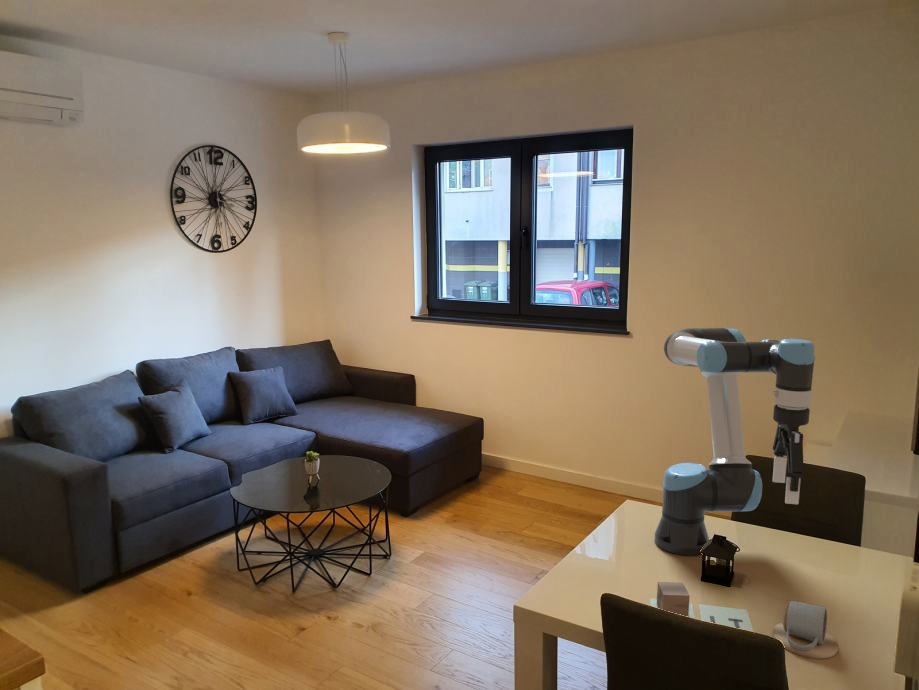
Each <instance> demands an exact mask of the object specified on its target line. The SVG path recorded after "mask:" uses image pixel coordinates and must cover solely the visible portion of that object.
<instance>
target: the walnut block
mask: <svg viewBox="0 0 919 690" xmlns="http://www.w3.org/2000/svg"><path fill="white" fill-rule="evenodd" d="M656 591H657V592H656V599H657V606H658V608H660V609H663V610H666V611H670V612H673V613H677V614H681V615H684V616H688V615H689V603H690V593H689V592H688V590H687V587H686V586H685V584H684V582H681V581H680V582H679V581H678V582H677V581H657V589H656Z"/></svg>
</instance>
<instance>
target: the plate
mask: <svg viewBox="0 0 919 690" xmlns="http://www.w3.org/2000/svg"><path fill="white" fill-rule="evenodd" d="M649 605H651V606H654V607H657V608H658V606H657V598H651V597H650V598H649ZM688 617H692V618H695V619H696V617H695V613H694V607H693V603H692V602H689V615H688Z"/></svg>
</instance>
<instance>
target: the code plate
mask: <svg viewBox="0 0 919 690" xmlns="http://www.w3.org/2000/svg"><path fill="white" fill-rule="evenodd" d="M698 608H699V613H700V618H701V621H702V620H705V621H708V622H713V623H718V624H723V625H726V626H731V627H736V628H740V629H745V630H749V631H753V632H754V633H755V631H754V628H753V626H752V623H751V619H750V616H749V613H748V610H747V609H743V608H734V607H725V606H718V605H708V604H702V603H698Z"/></svg>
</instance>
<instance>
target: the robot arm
mask: <svg viewBox="0 0 919 690" xmlns="http://www.w3.org/2000/svg"><path fill="white" fill-rule="evenodd" d="M663 351H664V352H663V353H664V355H665V357H666V358H667V359H668V360H669V362H671V363H673V364H675V365H678V366H682V367H696V368H697V367H698V368H699V370H700V375H702V376H703V377H704V378H705V379H706V386H707V395H708V407H709V409H708V410H709V420H710V430H711V432H710V433H711V442H712V452H713V453H712V455H713V458H712V460H711V461H710V462H709V463H708V469H707V467H706V466H705V465H703V464H700V463H693V462H682V463H677V464H672V465H671V466H669V467H668V468H666V470H665V472H664V476H663V482H662V487H663V489H662V506H661V507H662V509H661V511H662V512H661V518H660V519H659V523H658V525H657V527H656V530H655V533H654V543H655V545H656V546H657V547H659V548H660V549H662V550H663V551H665V552H668V553H671V554H675V555H681V556H690V557H691V556H699V555H701V554H700V550H701V549H702V547H703V546H704V544H705V543H706V542H708V541H709V542H710V538H709V534H708V532H707V526H706V524H705V514H706V512H730V513H731V512H737V513H740V512H751V511H754V510H755V509H757V507H758V506H759V504H760V502H761V499H762V496H763V495H762V494H763V480H762V477H761V474H760V473H759V471H757V470H755V469H753V465H752V462H751V461H750V460H748V459H747V457H746V453H745V442H744V441H745V440H744V432H743V421H742V413H741V411H742V410H741V402H740V400H741V399H740V392H739V382H738V376H739V375H740V374H741V373H771V374H772V373H773V374H775V375H776V376H775V378H776V379H775V390H772V395H773V396H774V403H775V404H774V406H773V414H772V416H773V417H772V420H773V421H774V422H776V423H777V427H776V432H775V436H774V441H773V445H772V450H773V455H774V456H773V457H774V458H773V470H772V483H782V484H786V485H785V494H784V495H785V496H784V503H785V505H786V504H787V505H788V504H789V505H790V504H791V505H799V503H800V502H799V501H800V489H801V480H802V479H804V477H805V470H804V469H805V468H804V445H803V444H804V433H802V432H801V431H799V430H800V429H799V427H802V426H807V425H808V424H809V422H810V412H811V411H810V410H811V409H810V408H809V407H811V404H812V403H811V402H812V392H813V391H812V390H813V388H812V386H813V377H814V368H815V367H814V366H815V359H816V356H815V343H814V342H813V341H811V340H807V339H801V338H784V339H781V340H780V341H779V340H778V339H769V338H768V339H767V338H766V339H763V340H759V341H747V340H746V338H745V335H744V334H743V333H742V332H741V331H740V330H739V329H736V328H729V327H728V328H727V327H714V328H713V327H712V328H711V327H709V328H707V327H705V328H704V327H701V328H694V327H693V328H692V327H691V328H690V327H688V328H684V329H683V328H682V329H679V330H676V331H674V332H673V333H671V334H670V335H668V337H667V338H666V339H665V341H664V345H663ZM787 469H788V470H787ZM787 471H788V473H787Z"/></svg>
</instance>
